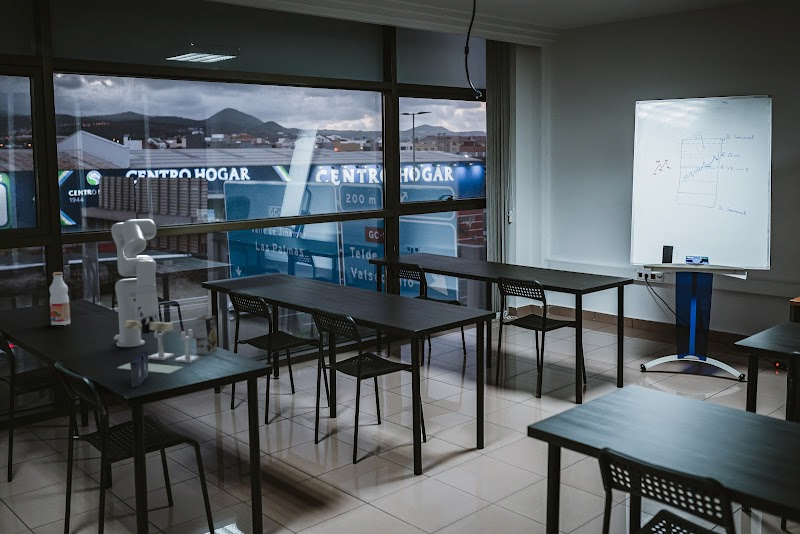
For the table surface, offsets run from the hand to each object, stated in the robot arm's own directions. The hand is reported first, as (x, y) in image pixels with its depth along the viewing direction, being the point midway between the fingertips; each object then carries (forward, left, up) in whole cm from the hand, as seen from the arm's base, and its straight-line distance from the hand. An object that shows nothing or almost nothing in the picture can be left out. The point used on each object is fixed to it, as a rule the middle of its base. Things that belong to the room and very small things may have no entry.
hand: (148, 332), depth 335 cm
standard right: (+7, +17, -16) cm, 24 cm away
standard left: (-7, +17, -16) cm, 24 cm away
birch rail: (0, 0, +1) cm, 1 cm away
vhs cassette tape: (+8, -17, -16) cm, 25 cm away
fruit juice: (-102, +60, -16) cm, 119 cm away
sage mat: (0, 0, -16) cm, 16 cm away
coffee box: (+6, +33, -16) cm, 37 cm away
